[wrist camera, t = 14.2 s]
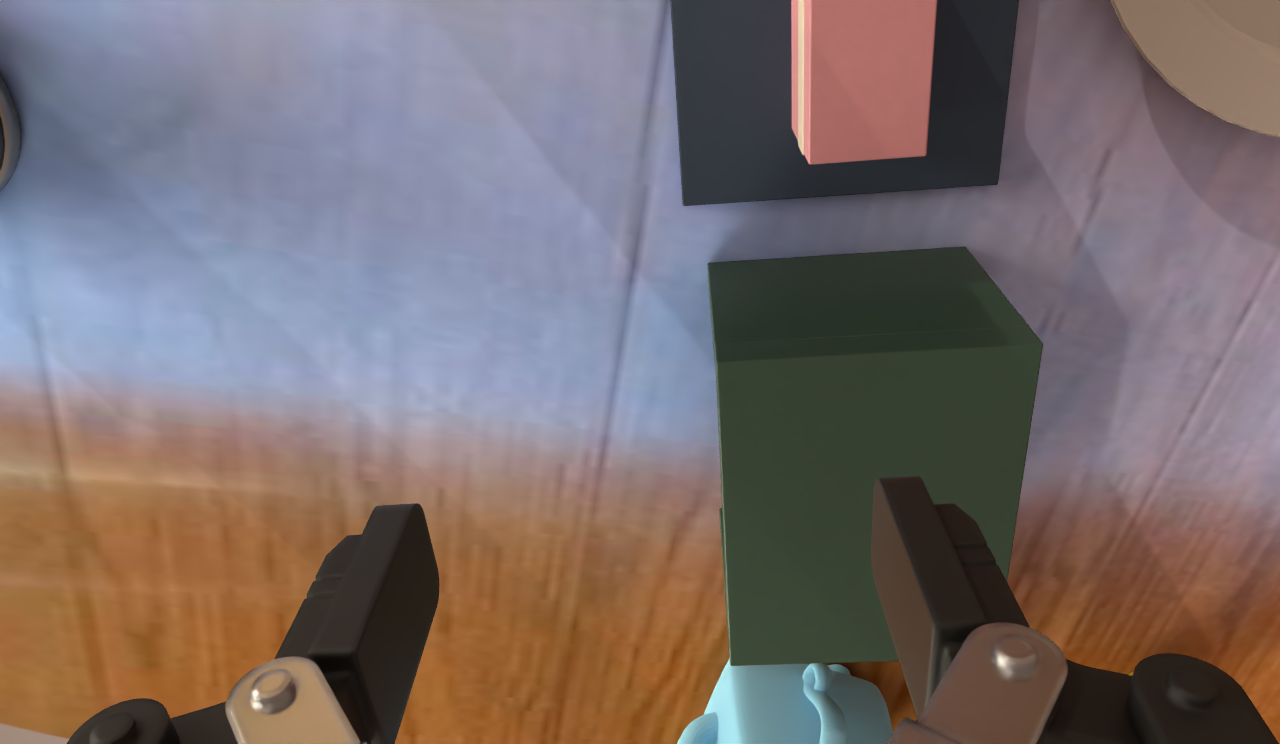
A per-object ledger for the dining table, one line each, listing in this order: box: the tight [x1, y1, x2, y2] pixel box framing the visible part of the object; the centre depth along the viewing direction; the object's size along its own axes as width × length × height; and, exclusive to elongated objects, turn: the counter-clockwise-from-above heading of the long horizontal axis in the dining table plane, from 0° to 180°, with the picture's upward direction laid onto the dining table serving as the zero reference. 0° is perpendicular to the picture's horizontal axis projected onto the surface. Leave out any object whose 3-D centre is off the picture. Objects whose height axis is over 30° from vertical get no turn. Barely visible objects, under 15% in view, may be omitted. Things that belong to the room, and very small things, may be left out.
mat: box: [670, 0, 1019, 206], centre depth 37 cm, size 14×14×1 cm
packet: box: [791, 0, 937, 164], centre depth 34 cm, size 4×8×6 cm, turn 5°
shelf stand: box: [708, 247, 1043, 666], centre depth 41 cm, size 12×16×10 cm
